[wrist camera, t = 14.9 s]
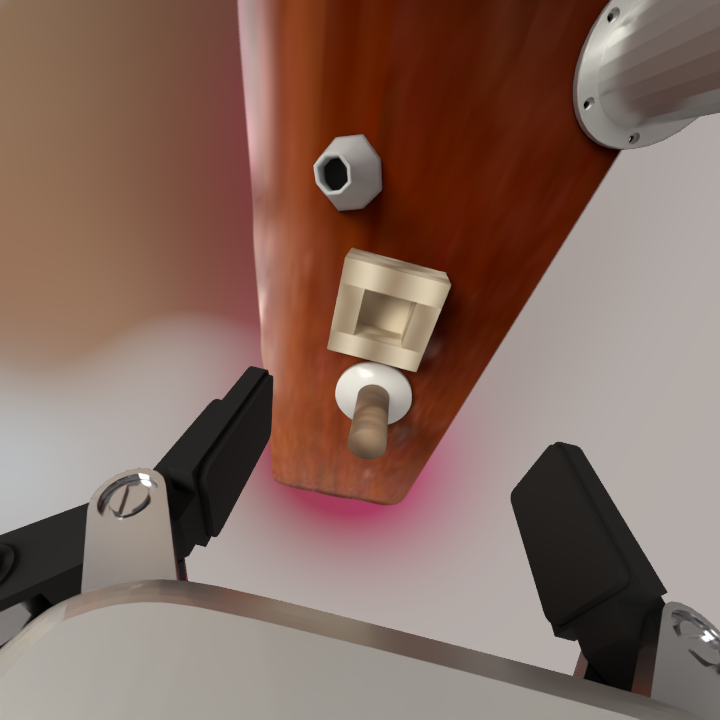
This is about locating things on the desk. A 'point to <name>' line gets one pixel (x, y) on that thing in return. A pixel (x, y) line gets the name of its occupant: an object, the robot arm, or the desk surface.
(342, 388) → the white round dome
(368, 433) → the walnut peg
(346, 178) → the flask
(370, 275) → the birch holder
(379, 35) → the desk surface
